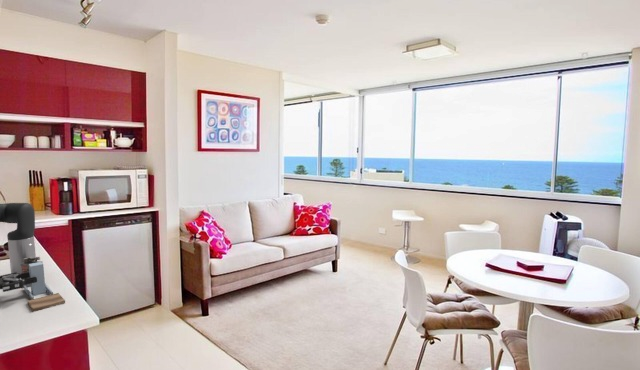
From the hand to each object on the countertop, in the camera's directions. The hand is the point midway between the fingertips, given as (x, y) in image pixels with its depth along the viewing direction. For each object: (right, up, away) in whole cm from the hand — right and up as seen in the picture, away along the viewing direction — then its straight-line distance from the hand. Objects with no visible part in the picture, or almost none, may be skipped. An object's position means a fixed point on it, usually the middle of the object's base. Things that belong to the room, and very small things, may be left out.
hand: (34, 276), depth 143 cm
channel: (+1, -7, +1) cm, 7 cm away
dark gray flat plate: (-9, -6, +10) cm, 15 cm away
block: (+1, -7, +1) cm, 7 cm away
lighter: (-13, -5, +16) cm, 21 cm away
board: (+11, -8, -8) cm, 16 cm away
